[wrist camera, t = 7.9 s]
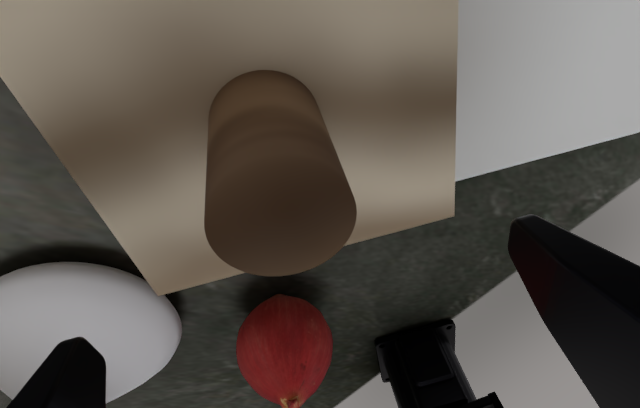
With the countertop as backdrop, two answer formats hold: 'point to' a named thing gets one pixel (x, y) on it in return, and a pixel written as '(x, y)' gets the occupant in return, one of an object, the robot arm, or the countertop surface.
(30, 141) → the countertop surface
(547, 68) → the mat
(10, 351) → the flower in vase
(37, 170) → the countertop surface
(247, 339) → the onion
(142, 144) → the board
